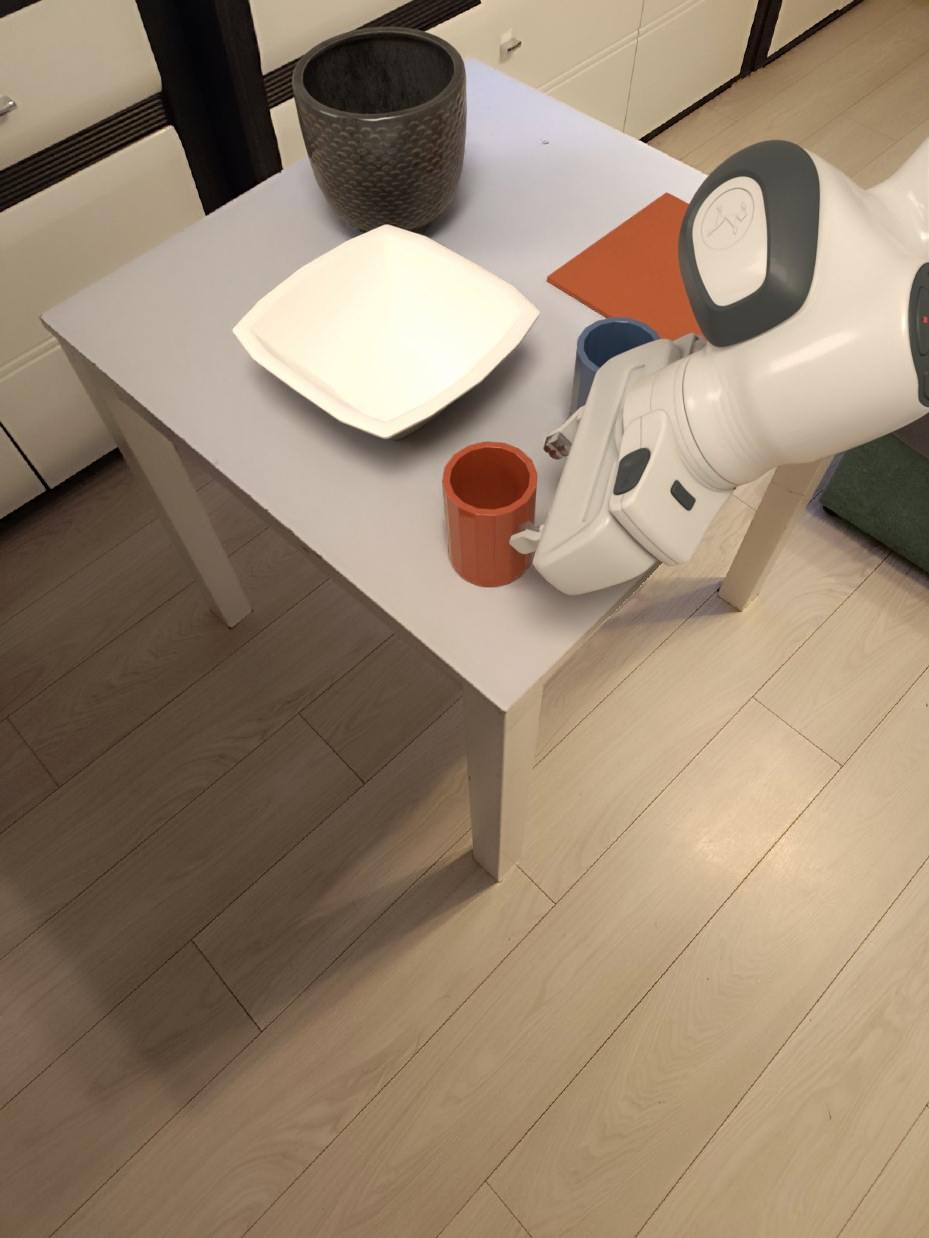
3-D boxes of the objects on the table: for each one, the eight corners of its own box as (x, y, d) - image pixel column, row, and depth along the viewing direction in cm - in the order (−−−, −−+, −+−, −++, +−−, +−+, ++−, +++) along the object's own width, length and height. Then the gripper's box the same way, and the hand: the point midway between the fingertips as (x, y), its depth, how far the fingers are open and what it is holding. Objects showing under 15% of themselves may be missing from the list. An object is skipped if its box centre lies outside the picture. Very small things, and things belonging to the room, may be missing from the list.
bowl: (399, 518, 76) (388, 455, 69) (234, 396, 84) (209, 327, 77) (557, 382, 84) (562, 312, 77) (392, 282, 92) (383, 210, 85)
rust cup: (535, 521, 75) (540, 444, 67) (529, 590, 72) (533, 518, 63) (454, 516, 76) (448, 438, 67) (444, 583, 73) (437, 511, 64)
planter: (397, 155, 104) (382, 8, 90) (501, 214, 98) (502, 65, 84) (288, 222, 98) (254, 75, 84) (391, 289, 92) (373, 142, 78)
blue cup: (646, 403, 82) (663, 319, 74) (645, 461, 79) (663, 379, 70) (570, 399, 83) (579, 315, 74) (566, 456, 79) (575, 374, 71)
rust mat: (814, 275, 91) (816, 270, 90) (696, 374, 84) (698, 369, 83) (665, 196, 98) (666, 191, 98) (546, 281, 92) (546, 276, 91)
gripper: (687, 293, 59) (543, 371, 69) (621, 524, 50) (466, 575, 60) (736, 356, 62) (591, 421, 72) (684, 584, 53) (525, 622, 63)
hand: (534, 492), depth 66 cm, fingers open, 8 cm apart
